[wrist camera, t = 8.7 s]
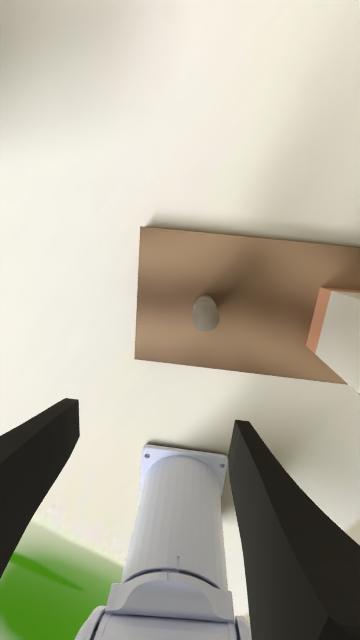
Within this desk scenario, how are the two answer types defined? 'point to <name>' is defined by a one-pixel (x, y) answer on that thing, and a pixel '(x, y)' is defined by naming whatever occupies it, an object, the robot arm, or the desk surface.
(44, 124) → the desk surface
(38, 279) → the desk surface
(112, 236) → the desk surface
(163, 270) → the pin board
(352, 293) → the sleeve
